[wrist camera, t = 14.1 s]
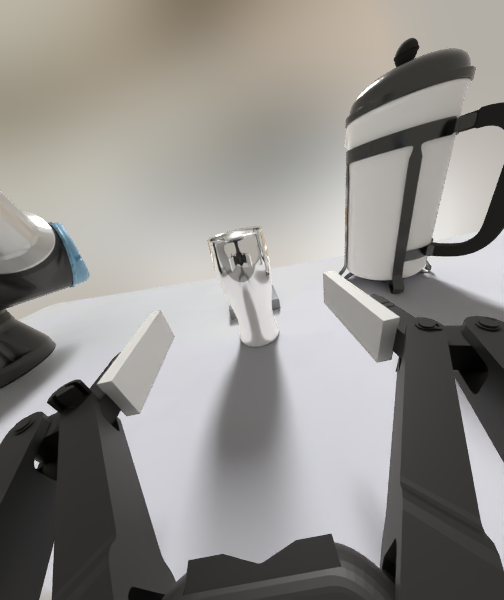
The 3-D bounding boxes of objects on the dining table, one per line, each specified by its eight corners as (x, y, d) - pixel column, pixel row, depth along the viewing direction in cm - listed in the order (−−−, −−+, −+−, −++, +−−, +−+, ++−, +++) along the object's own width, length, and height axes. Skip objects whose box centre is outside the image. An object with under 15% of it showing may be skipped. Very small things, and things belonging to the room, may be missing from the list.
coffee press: (342, 300, 31) (345, 26, 17) (335, 266, 44) (333, 93, 30) (483, 294, 25) (663, -136, 11) (427, 256, 38) (478, 34, 24)
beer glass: (265, 314, 33) (245, 225, 26) (291, 333, 27) (275, 225, 20) (230, 333, 30) (198, 240, 23) (251, 357, 25) (217, 244, 18)
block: (278, 298, 33) (270, 281, 40) (229, 310, 33) (230, 291, 40) (280, 309, 34) (272, 291, 41) (232, 320, 34) (233, 300, 41)
